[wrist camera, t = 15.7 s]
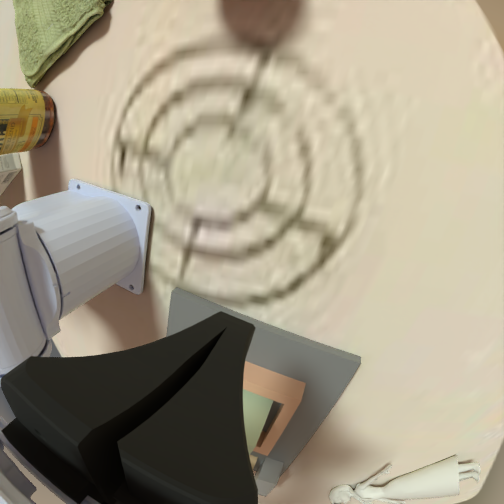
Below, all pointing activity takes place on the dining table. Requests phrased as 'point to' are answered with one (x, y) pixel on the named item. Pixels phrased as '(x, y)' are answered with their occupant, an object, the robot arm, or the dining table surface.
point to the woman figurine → (411, 484)
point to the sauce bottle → (24, 119)
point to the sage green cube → (254, 416)
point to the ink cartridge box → (8, 169)
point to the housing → (278, 383)
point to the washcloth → (50, 30)
